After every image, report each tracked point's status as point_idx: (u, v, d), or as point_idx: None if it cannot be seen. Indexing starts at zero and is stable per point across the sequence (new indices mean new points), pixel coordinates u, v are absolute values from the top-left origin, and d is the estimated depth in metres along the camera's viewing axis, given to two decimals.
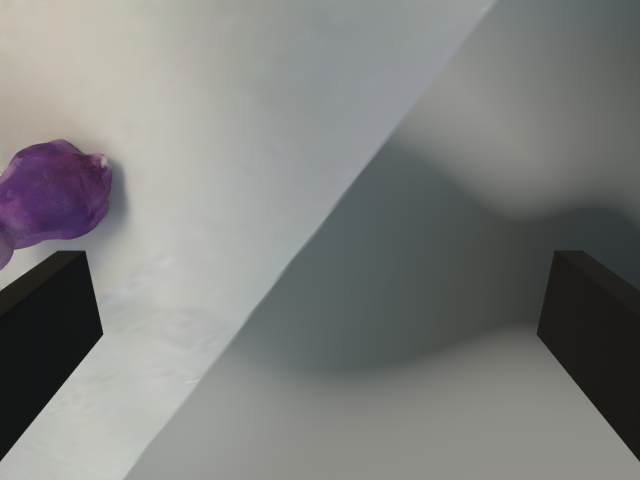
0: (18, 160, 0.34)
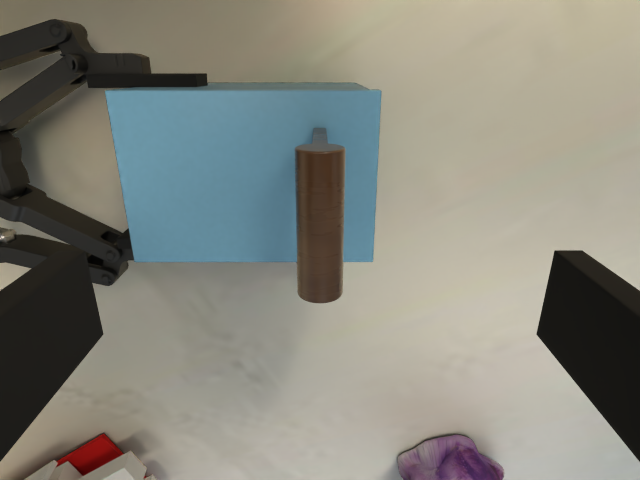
0: None
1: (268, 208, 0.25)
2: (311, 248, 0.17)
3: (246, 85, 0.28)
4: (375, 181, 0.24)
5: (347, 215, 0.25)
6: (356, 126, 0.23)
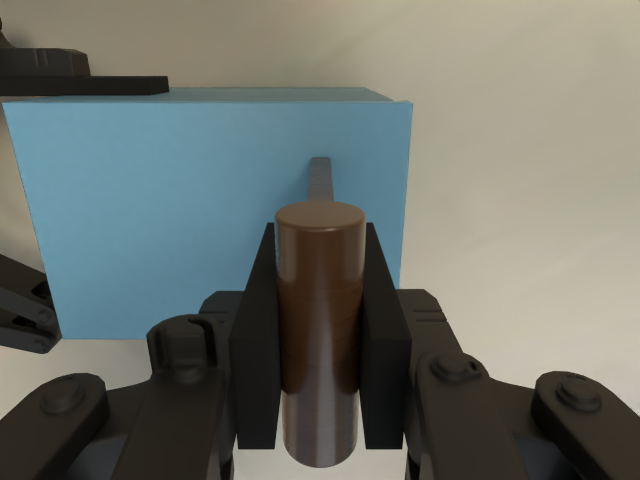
0: None
1: (247, 269, 0.17)
2: (304, 386, 0.10)
3: (221, 92, 0.21)
4: (401, 232, 0.17)
5: None
6: (374, 155, 0.16)
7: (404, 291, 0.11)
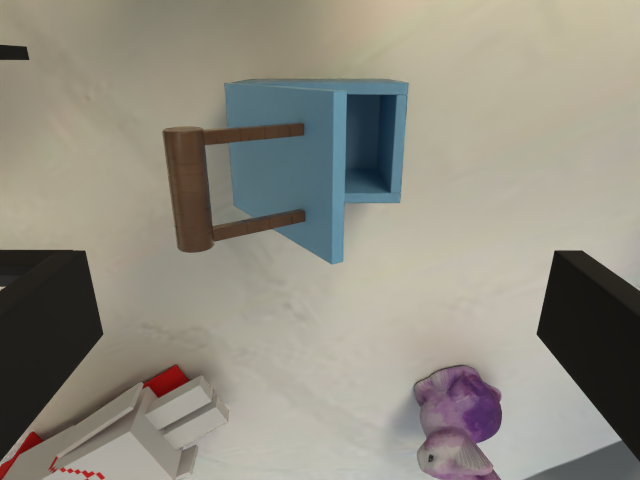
0: (476, 398, 0.52)
1: (279, 187, 0.29)
2: (172, 204, 0.23)
3: None
4: (331, 183, 0.24)
5: (316, 210, 0.26)
6: (320, 125, 0.24)
7: None
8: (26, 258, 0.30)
